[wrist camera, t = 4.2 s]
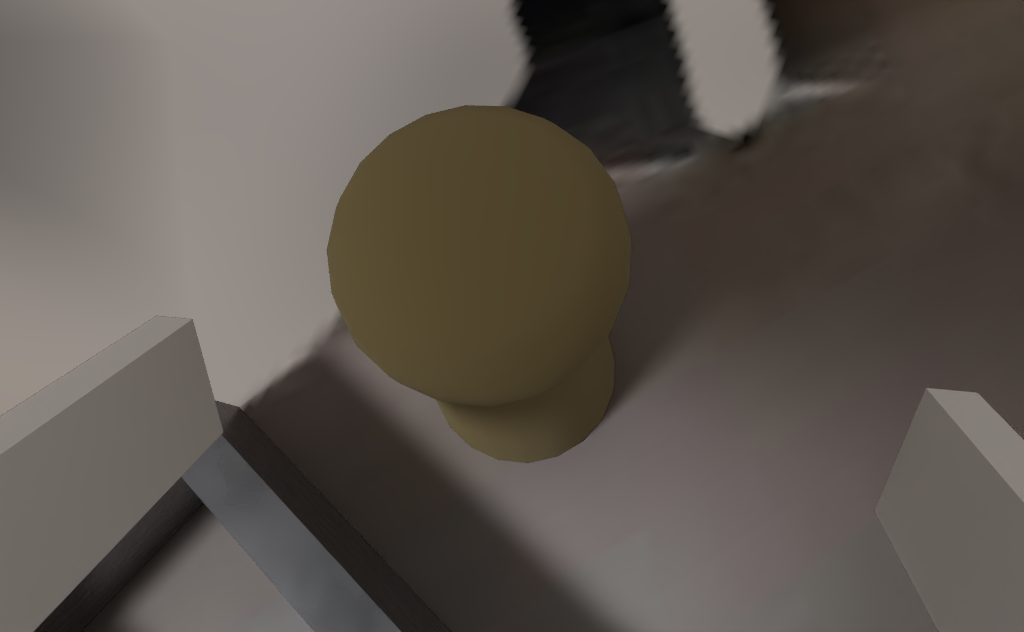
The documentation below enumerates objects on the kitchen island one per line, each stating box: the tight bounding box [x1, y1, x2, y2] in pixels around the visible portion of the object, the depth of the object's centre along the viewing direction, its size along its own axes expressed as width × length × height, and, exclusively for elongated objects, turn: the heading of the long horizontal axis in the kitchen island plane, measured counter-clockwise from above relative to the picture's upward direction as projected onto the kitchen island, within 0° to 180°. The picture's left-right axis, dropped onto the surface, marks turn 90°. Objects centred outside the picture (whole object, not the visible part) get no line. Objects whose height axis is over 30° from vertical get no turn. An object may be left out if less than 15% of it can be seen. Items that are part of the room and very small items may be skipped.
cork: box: [327, 105, 632, 463], centre depth 14 cm, size 6×6×11 cm
